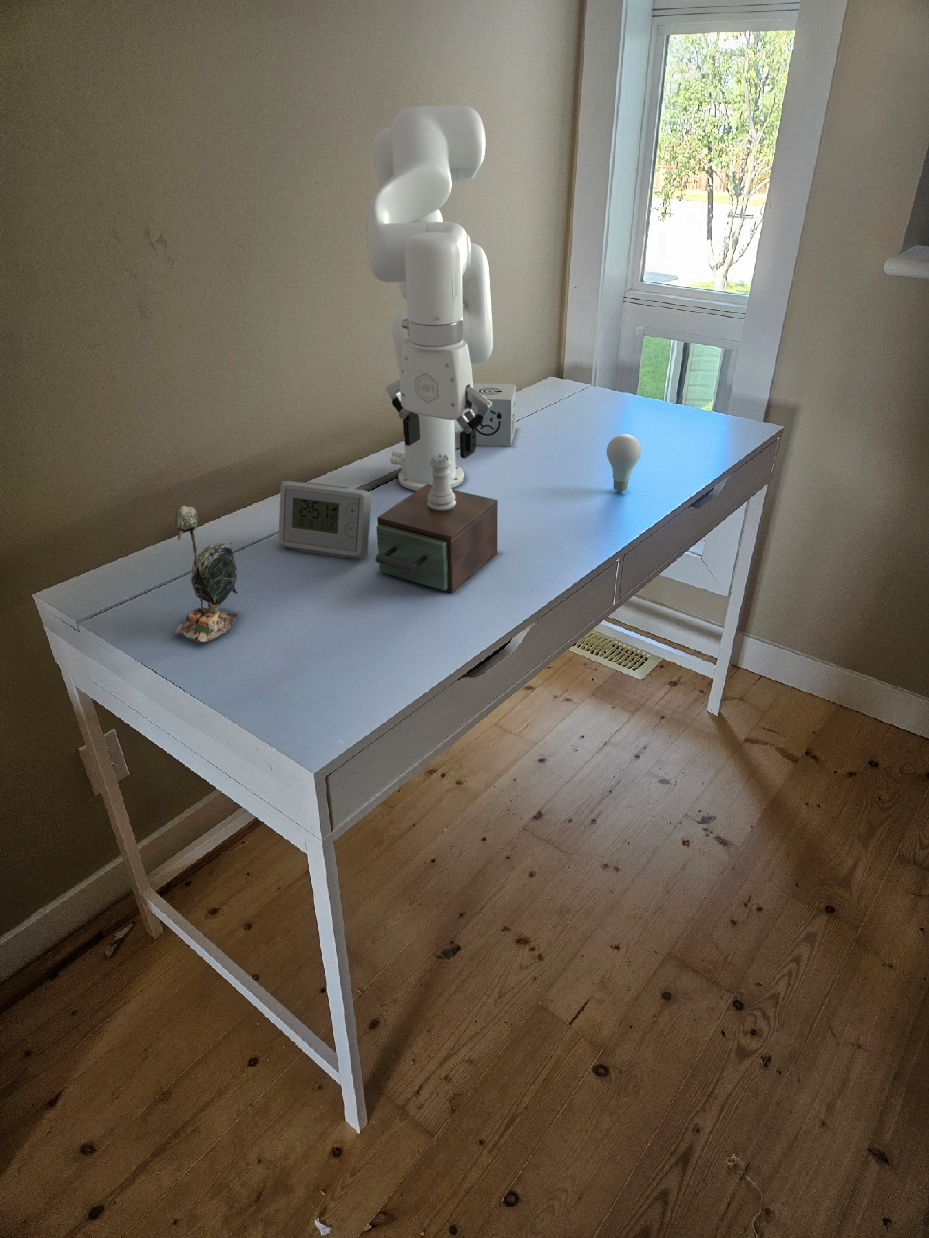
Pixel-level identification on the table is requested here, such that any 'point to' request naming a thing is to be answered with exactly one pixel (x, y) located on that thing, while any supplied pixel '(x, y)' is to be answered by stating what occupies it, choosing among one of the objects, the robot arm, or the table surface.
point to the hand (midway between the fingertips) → (439, 448)
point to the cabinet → (452, 529)
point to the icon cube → (497, 414)
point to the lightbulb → (623, 459)
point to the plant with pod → (207, 583)
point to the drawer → (413, 556)
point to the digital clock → (324, 519)
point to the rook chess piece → (441, 485)
